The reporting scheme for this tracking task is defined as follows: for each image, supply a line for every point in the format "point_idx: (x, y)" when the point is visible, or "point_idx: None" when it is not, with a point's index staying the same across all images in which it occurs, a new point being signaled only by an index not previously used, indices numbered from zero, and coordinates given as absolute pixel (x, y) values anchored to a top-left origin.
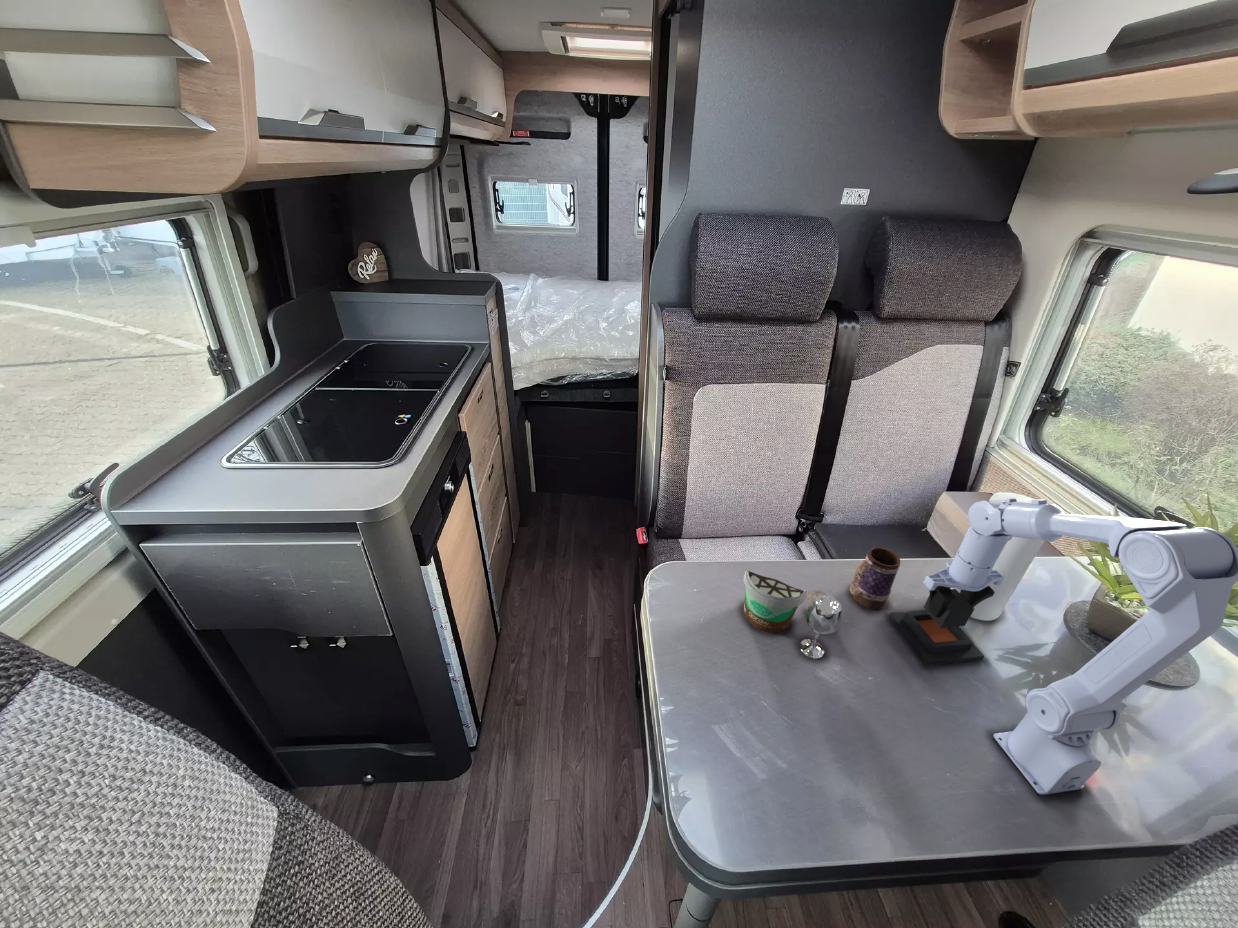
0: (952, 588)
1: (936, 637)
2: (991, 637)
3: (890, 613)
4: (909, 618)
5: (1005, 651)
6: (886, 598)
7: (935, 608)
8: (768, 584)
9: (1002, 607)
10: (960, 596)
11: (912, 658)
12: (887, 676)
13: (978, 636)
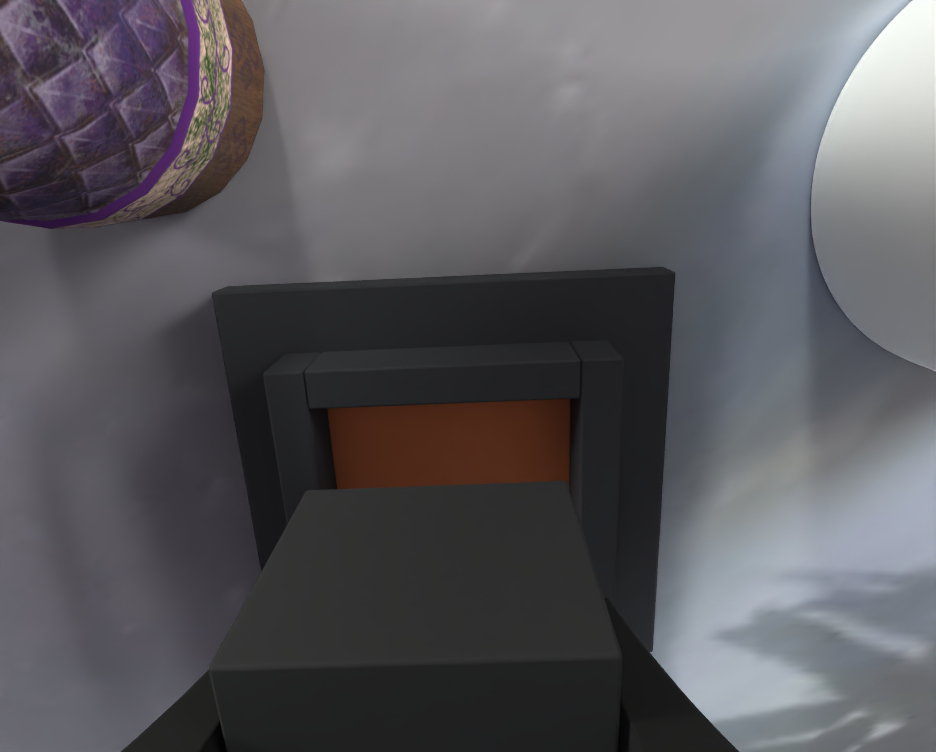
0: (913, 126)
1: None
2: (846, 499)
3: (213, 295)
4: (273, 422)
5: (836, 593)
6: (143, 212)
7: None
8: None
9: None
10: None
11: (231, 598)
12: (41, 680)
13: (765, 486)
